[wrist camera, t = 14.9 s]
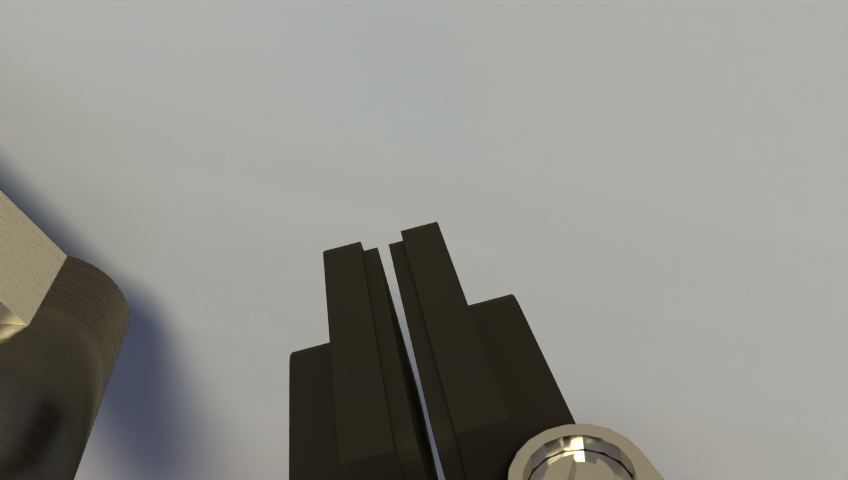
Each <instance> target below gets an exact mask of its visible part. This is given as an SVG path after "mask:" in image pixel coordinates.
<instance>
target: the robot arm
mask: <svg viewBox="0 0 848 480" xmlns="http://www.w3.org/2000/svg"><path fill="white" fill-rule="evenodd" d="M401 234H402V238H403V241H400V242H397V243H393V244H389V247H390V252H391V256H392V260H393V265H394V269H395V273H396V278H397V282H398V286H399V290H400V295H401V299H402V303H403V308H404V312H405V316H406V320H407V325H408V329H409V333H410V338H411V342H412V346H413V350H414V355H415V359H416V363H417V368H418V372H419V376H420V381H421V385H422V389H423V393H424V398H425V402H426V406H427V411H428V415H429V419H430V423H431V427H432V431H433V435H434V439H435V443H436V447H437V451H438V454H439V458H440V462H441V465H442V469H443V472H444V476H445V479H446V480H664V479H663V478H662V476H661V475H660V474H659V473H658V471H657V470H656V469H655V468H654V466H653V465H652V464H651V463H650V461H649V460H648V459H647V458H646V456H645V455H644V454H643V452H642V451H641V450H640V449H638V448H637V447H636V446H635V445H634V444H633V443H632V442H631V441H630V440H629V439H628V438H626V437H624V436H622V435H620V434H618V433H616V432H614V431H612V430H610V429H608V428H603V427H599V426H594V425H590V424H576V423H575V421H574V419H573V417H572V415H571V413H570V411H569V409H568V407H567V404H566V402H565V400H564V398H563V396H562V394H561V392H560V390H559V388H558V386H557V383H556V381H555V379H554V377H553V375H552V373H551V371H550V369H549V367H548V364H547V362H546V360H545V358H544V356H543V354H542V352H541V350H540V348H539V346H538V343H537V341H536V339H535V337H534V335H533V333H532V331H531V329H530V327H529V324H528V322H527V320H526V318H525V316H524V314H523V312H522V310H521V308H520V305H519V303H518V301H517V300H516V298H515V296H514V295H512V294H511V295H507V296H503V297H499V298H496V299H492V300H488V301H484V302H481V303H477V304H473V305H469V306H468V304H467V301H466V299H465V296H464V293H463V290H462V288H461V285H460V282H459V280H458V277H457V274H456V271H455V269H454V266H453V263H452V261H451V258H450V255H449V252H448V250H447V247H446V244H445V242H444V239H443V236H442V233H441V231H440V228H439V225H438V223H437V222H434V223H430V224H426V225H422V226H419V227H415V228H411V229H407V230H403V231H401ZM323 257H324V270H325V283H326V296H327V310H328V323H329V336H330V343H326V344H322V345H319V346H315V347H311V348H307V349H304V350H300V351H296V352H292V354H291V355H290V383H289V480H438V476H437V471H436V467H435V462H434V458H433V453H432V449H431V445H430V440H429V436H428V431H427V427H426V422H425V418H424V413H423V409H422V405H421V401H420V397H419V393H418V389H417V385H416V382H415V378H414V374H413V371H412V367H411V364H410V360H409V357H408V353H407V350H406V346H405V343H404V339H403V336H402V332H401V329H400V325H399V322H398V318H397V315H396V311H395V307H394V304H393V300H392V297H391V293H390V290H389V286H388V283H387V279H386V276H385V272H384V269H383V265H382V262H381V258H380V255H379V251H378V248H374V249H370V250H366V251H364V250H363V247H362V244H361V242H357V243H353V244H350V245H346V246H342V247H338V248H334V249H331V250H327V251H324V252H323Z"/></svg>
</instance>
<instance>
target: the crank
mask: <svg viewBox="0 0 848 480" xmlns="http://www.w3.org/2000/svg"><path fill="white" fill-rule="evenodd" d="M128 323H129V311H128V306H127V303H126V300H125V298H124V296H123V294H122V292H121V290H120V289H119V287H118V286H117V285H116V284H115V283H114V281H113V280H112V279H111V278H110V277H108V276H107V275H106V274H105V273H104V272H102V271H101V270H99V269H98V268H96V267H94V266H93V265H91V264H89V263H87V262H84V261H82V260H79V259H76V258H73V257H69V256H67V255H66V254H65V253H64V252H63V251H62V250H61V249H60V248H59V247H58V246H57V245H56V244H55V243H54V242H53V241H52V240H50V239H49V238H48V237H47V236H46V235H45V234H44V233H43V232H42V231H41V230H40V229H39V228H38V227H37V226H36V225H35V224H34V223H33V222H32V221H31V220H30V219H29V218H28V217H27V216H26V215H25V214H24V213H23V212H22V211H21V210H20V209H19V208H18V207H17V206H16V205H15V204H14V203H13V202H12V201H11V200H10V199H9V198H8V197H7V196H6V195H5V194H4V193H3V192H2V191H1V190H0V480H74V478H75V475H76V472H77V469H78V467H79V464H80V461H81V458H82V455H83V452H84V450H85V447H86V444H87V441H88V438H89V435H90V433H91V430H92V427H93V424H94V421H95V419H96V416H97V413H98V410H99V407H100V404H101V402H102V399H103V396H104V393H105V390H106V388H107V385H108V382H109V379H110V376H111V373H112V371H113V368H114V365H115V362H116V359H117V357H118V354H119V351H120V348H121V345H122V342H123V340H124V337H125V334H126V331H127V328H128Z"/></svg>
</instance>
